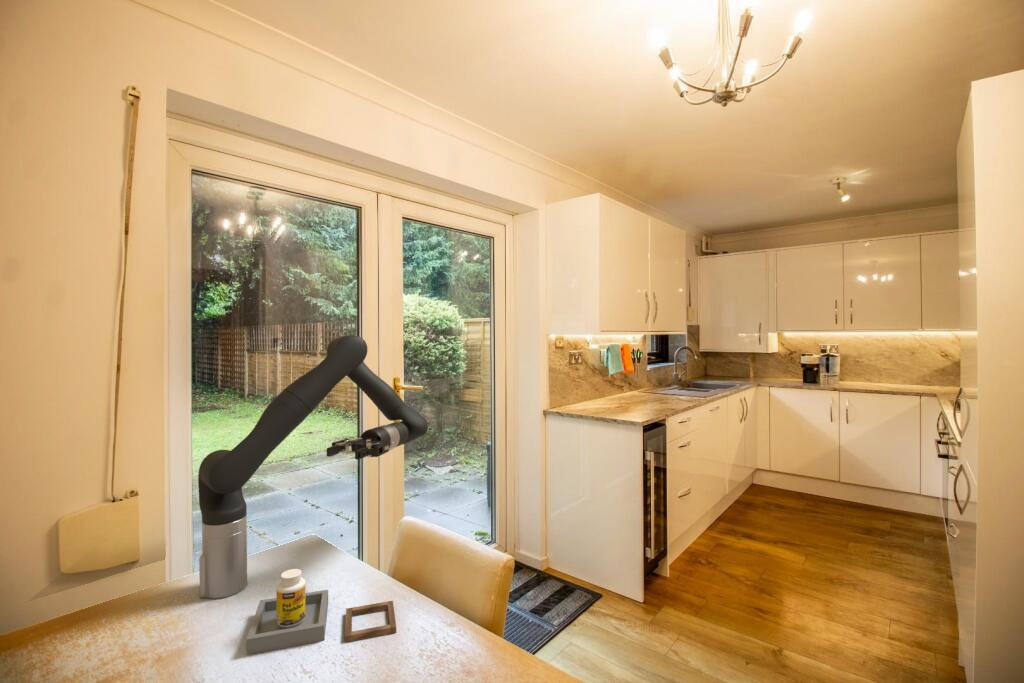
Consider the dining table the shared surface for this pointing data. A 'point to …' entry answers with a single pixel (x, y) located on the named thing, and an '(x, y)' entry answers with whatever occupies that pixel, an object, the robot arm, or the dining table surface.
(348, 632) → the holder frame
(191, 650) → the dining table surface
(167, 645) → the dining table surface
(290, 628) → the tray
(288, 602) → the supplement bottle
